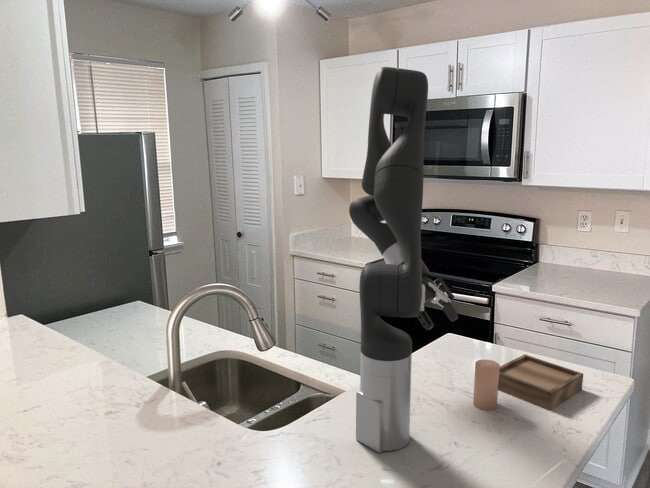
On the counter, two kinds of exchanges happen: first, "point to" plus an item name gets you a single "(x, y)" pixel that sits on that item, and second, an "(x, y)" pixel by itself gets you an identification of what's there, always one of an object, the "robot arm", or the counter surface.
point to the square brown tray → (539, 381)
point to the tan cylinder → (486, 384)
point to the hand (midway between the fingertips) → (443, 323)
